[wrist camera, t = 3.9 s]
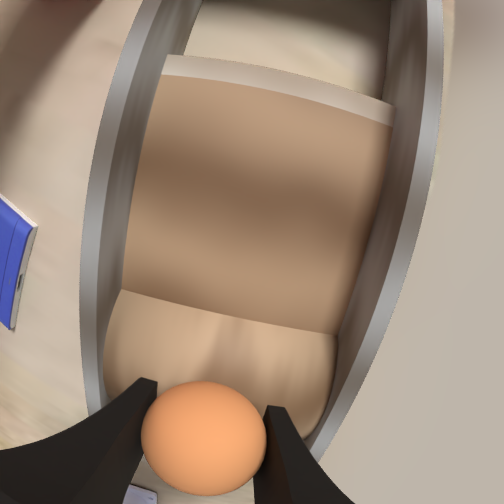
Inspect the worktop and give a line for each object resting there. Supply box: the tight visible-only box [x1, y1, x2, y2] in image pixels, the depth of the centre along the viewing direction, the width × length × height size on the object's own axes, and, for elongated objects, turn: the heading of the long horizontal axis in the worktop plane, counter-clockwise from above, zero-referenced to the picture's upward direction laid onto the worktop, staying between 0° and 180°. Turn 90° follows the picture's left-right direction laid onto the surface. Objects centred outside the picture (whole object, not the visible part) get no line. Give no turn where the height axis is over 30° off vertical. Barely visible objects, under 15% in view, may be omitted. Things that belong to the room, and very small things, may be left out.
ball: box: [141, 381, 267, 496], centre depth 8 cm, size 4×4×4 cm
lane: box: [79, 0, 444, 463], centre depth 13 cm, size 28×12×10 cm, turn 167°
